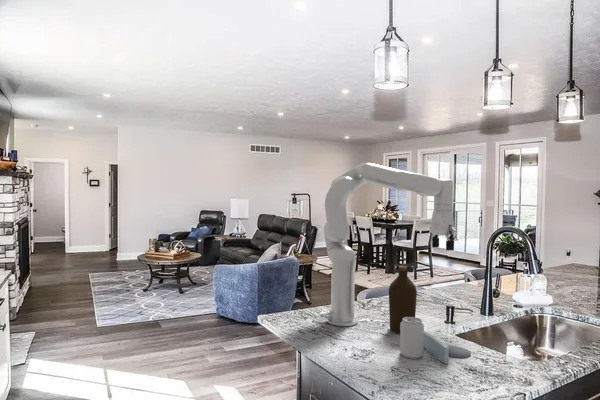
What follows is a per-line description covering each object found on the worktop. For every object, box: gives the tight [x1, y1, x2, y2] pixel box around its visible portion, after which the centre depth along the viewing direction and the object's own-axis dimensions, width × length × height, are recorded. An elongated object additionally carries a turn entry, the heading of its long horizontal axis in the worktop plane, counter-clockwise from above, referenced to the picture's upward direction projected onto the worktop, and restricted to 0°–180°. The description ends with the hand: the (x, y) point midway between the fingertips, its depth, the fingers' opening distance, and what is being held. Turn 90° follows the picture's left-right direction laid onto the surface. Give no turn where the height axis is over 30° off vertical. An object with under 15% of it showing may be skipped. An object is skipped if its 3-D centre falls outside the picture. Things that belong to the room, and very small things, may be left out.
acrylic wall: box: [424, 330, 450, 364], centre depth 139 cm, size 1×16×5 cm, turn 11°
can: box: [399, 316, 425, 360], centre depth 138 cm, size 8×8×12 cm
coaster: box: [446, 345, 472, 359], centre depth 141 cm, size 10×10×1 cm
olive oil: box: [388, 265, 418, 335], centre depth 163 cm, size 11×11×25 cm
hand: (442, 248), depth 178 cm, fingers open, 9 cm apart
